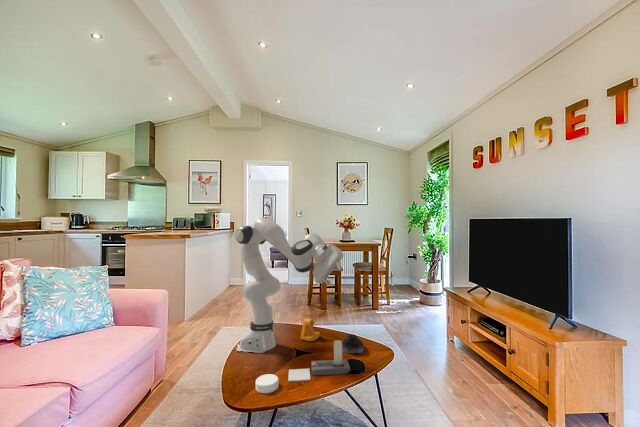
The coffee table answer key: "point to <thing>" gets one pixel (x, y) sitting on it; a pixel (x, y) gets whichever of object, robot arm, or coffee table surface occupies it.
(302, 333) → the bracket
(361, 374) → the coffee table surface
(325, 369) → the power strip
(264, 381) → the coaster
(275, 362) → the coffee table surface
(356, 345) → the crystal cluster
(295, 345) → the coffee table surface
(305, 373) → the mat
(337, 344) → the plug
